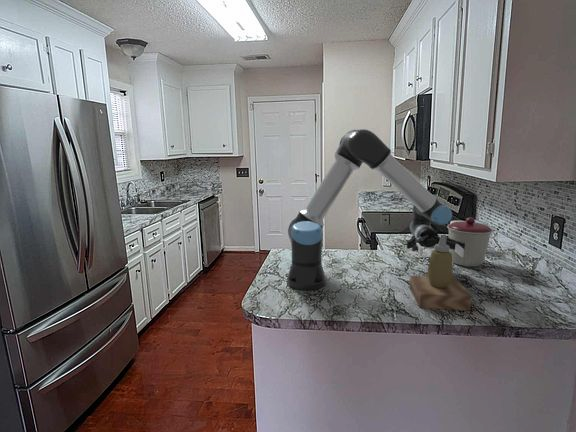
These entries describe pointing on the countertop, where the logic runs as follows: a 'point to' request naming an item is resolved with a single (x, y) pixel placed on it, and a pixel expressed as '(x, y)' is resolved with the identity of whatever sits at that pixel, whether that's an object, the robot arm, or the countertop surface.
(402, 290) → the countertop surface
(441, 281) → the squeeze bottle
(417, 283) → the walnut plinth
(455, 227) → the canister
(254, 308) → the countertop surface
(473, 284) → the countertop surface
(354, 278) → the countertop surface
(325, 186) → the robot arm
